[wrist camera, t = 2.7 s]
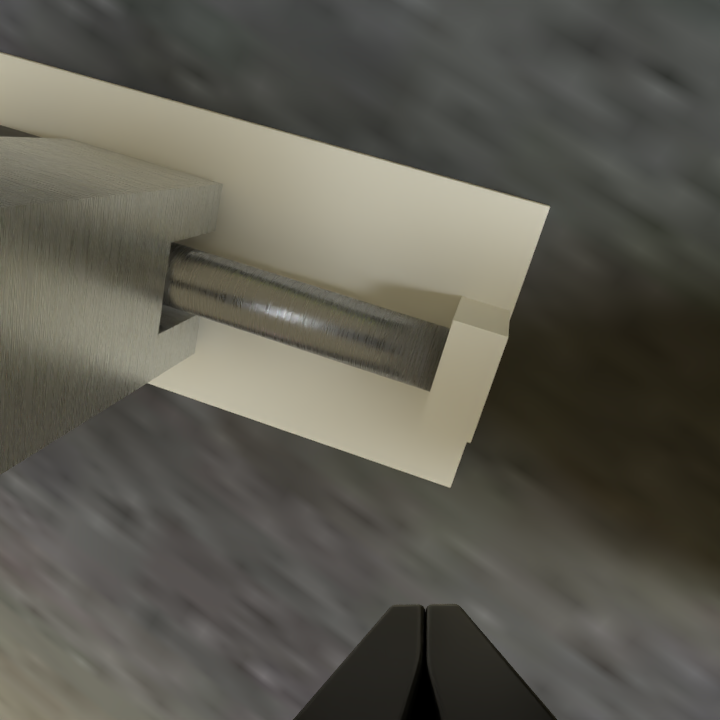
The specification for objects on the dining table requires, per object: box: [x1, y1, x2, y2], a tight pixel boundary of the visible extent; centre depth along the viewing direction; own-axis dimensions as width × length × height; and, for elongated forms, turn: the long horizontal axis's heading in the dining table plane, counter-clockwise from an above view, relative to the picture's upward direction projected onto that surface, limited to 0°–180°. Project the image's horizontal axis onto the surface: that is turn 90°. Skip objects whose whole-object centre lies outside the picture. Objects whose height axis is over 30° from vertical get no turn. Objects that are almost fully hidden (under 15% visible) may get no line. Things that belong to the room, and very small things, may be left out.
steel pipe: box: [162, 242, 450, 392], centre depth 19 cm, size 23×2×2 cm, turn 76°
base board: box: [0, 52, 550, 488], centre depth 19 cm, size 26×9×3 cm, turn 76°
